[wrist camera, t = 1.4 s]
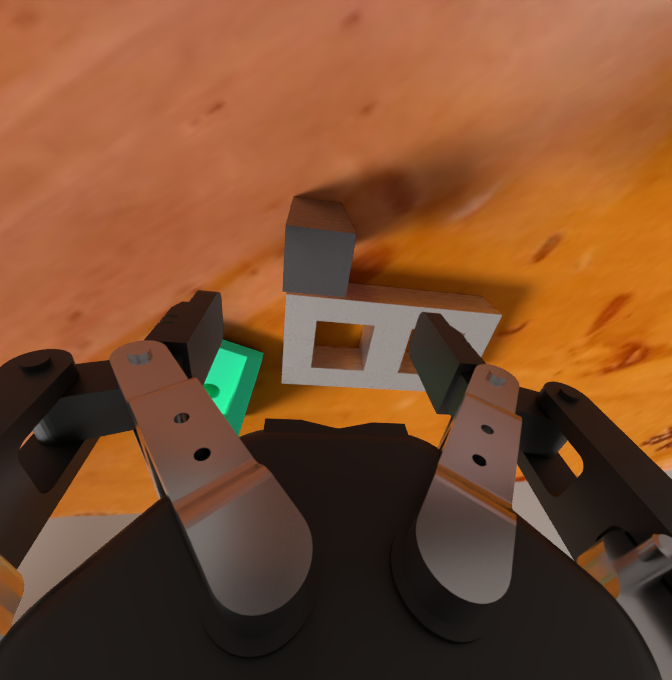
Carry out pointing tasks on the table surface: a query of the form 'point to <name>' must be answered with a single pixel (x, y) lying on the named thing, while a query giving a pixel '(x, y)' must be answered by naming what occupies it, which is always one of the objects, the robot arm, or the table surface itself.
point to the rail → (374, 334)
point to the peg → (318, 248)
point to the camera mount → (233, 381)
